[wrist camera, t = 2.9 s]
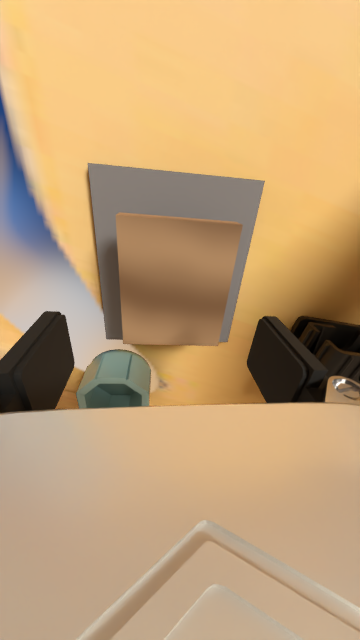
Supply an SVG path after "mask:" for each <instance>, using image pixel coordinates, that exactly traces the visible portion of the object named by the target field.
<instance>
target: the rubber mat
mask: <svg viewBox="0 0 360 640" xmlns="http://www.w3.org/2000/svg"><path fill="white" fill-rule="evenodd" d="M88 170H89V179H90V189H91V198H92V208H93V217H94V226H95V236H96V245H97V255H98V264H99V274H100V283H101V293H102V302H103V312H104V321H105V330H106V339H122V340H123V330H122V314H121V297H120V280H119V263H118V247H117V230H116V214H118V213H120V212H121V213H133V214H146V215H158V216H170V217H183V218H195V219H208V220H220V221H232V222H238V223H240V224H242V225H243V227H242V232H241V236H240V241H239V246H238V251H237V256H236V260H235V265H234V270H233V275H232V280H231V285H230V289H229V294H228V299H227V304H226V309H225V314H224V318H223V323H222V328H221V333H220V338H219V342H228V337H229V333H230V329H231V324H232V320H233V316H234V311H235V307H236V303H237V298H238V294H239V290H240V286H241V281H242V277H243V273H244V268H245V264H246V260H247V255H248V251H249V247H250V242H251V238H252V234H253V230H254V225H255V221H256V217H257V212H258V208H259V204H260V199H261V195H262V191H263V186H264V182H265V181H261V180H251V179H241V178H231V177H221V176H211V175H201V174H191V173H181V172H171V171H162V170H152V169H142V168H132V167H122V166H112V165H102V164H92V163H88Z"/></svg>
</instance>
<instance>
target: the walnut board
mask: <svg viewBox="0 0 360 640" xmlns="http://www.w3.org/2000/svg"><path fill="white" fill-rule="evenodd" d="M242 227H243V225H242V224H240V223H238V222H232V221H220V220H208V219H195V218H183V217H170V216H158V215H146V214H133V213H121V212H120V213H118V214H116V230H117V247H118V263H119V280H120V297H121V314H122V330H123V344H153V345H196V346H218V342H219V338H220V333H221V328H222V323H223V318H224V314H225V309H226V304H227V299H228V294H229V289H230V285H231V280H232V275H233V270H234V265H235V260H236V256H237V251H238V246H239V241H240V236H241V232H242Z"/></svg>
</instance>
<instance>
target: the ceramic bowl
mask: <svg viewBox="0 0 360 640" xmlns="http://www.w3.org/2000/svg"><path fill="white" fill-rule="evenodd" d="M150 380H151V369H150V367H149V365H148V363H147V362H146V360H145V359H144V358H142V357H141V356H140V355H138V354H136V353H134V352H131V351H127V350H120V349H118V350H109V351H106V352H103V353H101V354H99V355H98V356H97V357H95V359H94V360H93V361H92V363H91V364H90V365H89V366H87V369H86V371H85V373H84V376H83V378H82V381H81V383H80V385H79V388H78V390H77V393H76V396H77V401H78V405H79V408H108V407H137V406H149V401H150V382H151V381H150Z"/></svg>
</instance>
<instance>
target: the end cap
mask: <svg viewBox="0 0 360 640" xmlns="http://www.w3.org/2000/svg"><path fill="white" fill-rule="evenodd" d="M290 332H291V333H292V334H293V335H294V336H295V337H296V338H297V339H298V340H299V341H300V342H301V343H302V344H303V345H304V346H305V347H306V348H307V349H308V350H309V351H310V352H311V353H312V354H313V355H314V356H315V357H316V358H317V359H318V360H319V361H320V362H321V363H322V364H323V365H324V366H325V368H326V369H327V370H328V372H327V373H326V376H327V377H328V378H330V377H332V376H342V377H346V378H349V379H351V380H353V381H355V382H357V383H359V384H360V325H355V324H349V323H343V322H337V321H331V320H325V319H319V318H313V317H307V316H301V317H299V318H298V319H297V320H296V322H295V324H294V325H293V327H292V329H291V331H290Z"/></svg>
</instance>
